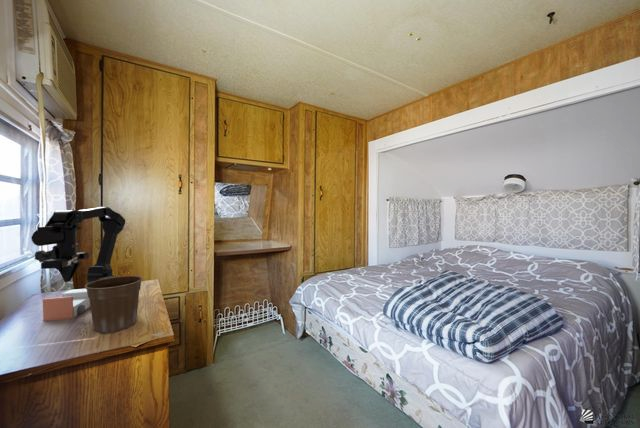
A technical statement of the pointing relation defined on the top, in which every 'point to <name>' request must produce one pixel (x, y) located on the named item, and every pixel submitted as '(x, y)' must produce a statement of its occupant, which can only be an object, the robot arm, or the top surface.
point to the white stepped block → (78, 300)
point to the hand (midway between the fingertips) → (67, 281)
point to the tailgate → (57, 308)
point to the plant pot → (114, 302)
